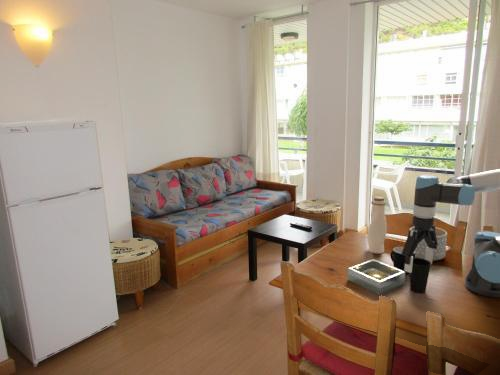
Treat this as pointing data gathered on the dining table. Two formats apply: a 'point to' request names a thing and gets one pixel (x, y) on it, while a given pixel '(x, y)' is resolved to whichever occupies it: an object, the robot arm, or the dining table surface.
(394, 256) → the mug
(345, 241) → the dining table surface
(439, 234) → the planter
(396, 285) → the grey square tray
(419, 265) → the cup
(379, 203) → the water bottle
